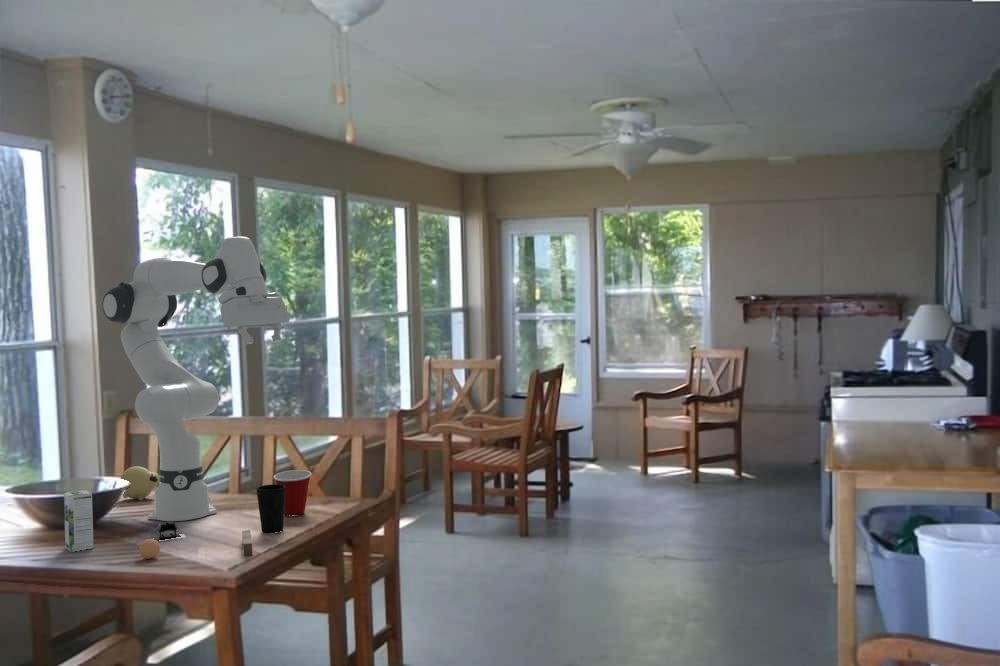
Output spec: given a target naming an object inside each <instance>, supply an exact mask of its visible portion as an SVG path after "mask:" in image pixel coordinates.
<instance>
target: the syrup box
mask: <svg viewBox="0 0 1000 666" xmlns="http://www.w3.org/2000/svg"><path fill="white" fill-rule="evenodd" d="M63 501H64V503H63V504H64V506H63V508H64V509H63V510H64V536H65V537H64V540H65V544H64V545H65V549H66V550H68V552H69V553H75V551H77V552H81V551H80V550H82V551H86V549H88V550H93V549H94V548H95V547H94V545H95V544H94V520H93V519H94V516H93V513H94V512H93V511H94V510H93V493H92V492H90V491H88V490H85V489H84V490H71V491H67V492H65V493H64V494H63ZM92 548H93V549H92Z"/></svg>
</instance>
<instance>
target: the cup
mask: <svg viewBox="0 0 1000 666" xmlns="http://www.w3.org/2000/svg"><path fill="white" fill-rule="evenodd" d="M285 489H286V486H284V485H279V484H277V483H274V484H266V485H265V484H264V485H260V486H258V487H256V498H257V504H258V511H259V518H260V519H259V521H260V527H261V533H262V532H263V533H262V534H264V533H275V532H280V531H282V532H283V531H284V520H285V515H284V506H285ZM280 533H281V532H280ZM275 534H276V533H275Z"/></svg>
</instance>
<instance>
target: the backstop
mask: <svg viewBox="0 0 1000 666" xmlns="http://www.w3.org/2000/svg"><path fill="white" fill-rule="evenodd" d="M241 531H242V532H241V533H242V534H241V536H242V537H241V539H242V549H243V551H244V552H243V551H242V552H243V557H252V556H253V540H252V533H251V529H247V530H241Z"/></svg>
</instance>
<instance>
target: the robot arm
mask: <svg viewBox="0 0 1000 666" xmlns="http://www.w3.org/2000/svg"><path fill="white" fill-rule="evenodd" d="M266 281H267V272H266V269H265V267H264V265H263V264H262V263H261V261H259V255H258V253H257V250H256V248H255V245H254V243H253V242H252V240H251V238H250V237H247V236H232V237H231V236H230V237H227V238H224V239H223V240H222V241H221V242H220V248H219V249H218V252H217V253H216V254H215V255H214V257H213V258H212V259H210V260H209V261H207V262H206V263H201V262H197V261H192V260H186V259H182V258H181V259H180V258H174V257H158V258H151V259H147V260H145V261H143V262H140V263H139V264H138V265H136V267H135V269H134V272H133V279H132V281H131V282H129V283H127V282H126V281H122V282H120V283H119V284H118V285H117V286H115V287H112V288H110V290H108V291H107V292H106V293H105V295H104V296H103V299H102V311H103V314H104V315H105V317H106V319H107V320H109V321H110V322H113V323H117V324H125V323H127V325H125V326H124V327H123V328H122V330H121V333H120V341H121V344H122V347H123V349H124V351H125V354H126V356H127V358H128V360H129V361H130V363H131V365H132V367H133V369H134V370H135V372H136V373H137V374H138V376H139V378H140V380H141V381H142V382H143V383H144V384H146V385H147V386H149V387H148V388H145V389H141V391H140V392H139V391H138V392H139V393H138V394H137V396H136V398H135V402H134V408H135V409H134V410H135V412H136V414H137V416H138V418H139V419H140V420H141V421H142V422H144V423H145V424H146V425H148V426H149V428H151V430H152V431H153V433H154V436H155V437H156V440H157V444H158V449H159V457H160V469H159V470H158V471H159V473H158V475H159V478H160V482H159V484H158V485H157V486H156V487H155V489H154V494H153V495H154V511H152V512H151V513H150V514H148V520H157V521H164V522H169V521H173V522H179V521H180V522H181V521H189V520H195V519H200V518H203V517H206V516H209V515H214V514H217V509H216V508H215V506H213V505H212V504H211V503H210V500H211V498H210V495H209V486H208V484H207V483H205V482H204V480H203V478H204V475H203V474H204V470H203V466H202V465H201V463H202V462H201V444H200V440H199V439H198V437H196V436H195V435H194V434H192V433H190V432H188V430H187V429H186V427H185V422H184V421H186V420H192V419H199V418H203V417H205V416H208V415H210V414H213V413H214V412H215V411H216V410H217V408H218V406H219V401H220V395H219V392H218V390H217V387H216V386H215V385H214V384H213V383H211V382H209V381H205V380H203V379H201V378H199V377H197V376H196V375H194V374H192V373H191V372H190V371H188V370H187V369H186V368H185V367H184V366H183V365H181V364H180V363H179V362H178V360H177V359H176V358H175V356H174V355H173V353H172V352H171V351H170V349H169V348H168V346H167V344H166V343H165V340H163V338H162V337H161V335H160V333H159V330H158V328H162V327H164V326H166V325H167V324H168V321H170V320H171V319H172V317H173V316H174V315H175V313H176V312H177V308H178V300H177V299H178V298H177V295H182V294H186V293H191V292H196V291H200V290H207V292H209V293H211V294H214V295H215V294H216V295H220V296H219V297H218V299H217V301H218V302H219V304H220V314H221V315H220V316H221V320H222V323H223V326H224V327H225V328H226V329H227V330H237V332H238V334H239V335H240V336H241V337H242V338H243V341H244V344H246V345H251V344H253V343H254V342H255V341H254V337H253V335H250V334H249V333H248V331H247V330H248V329H249V328H251V329H252V328H266V327H271V330H273V335H271V336H270V337H271V339H272V342H275V343H277V342H278V343H279V342H280V341H281V340H282V338H281V331H282V326H285V325H286V324H288V323H289V322H290V314H289V311H288V309H287V306H286V304H285V302H284V300H283V298H282V295H279V294H278V293H277V292H268V289H267V286H266Z"/></svg>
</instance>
